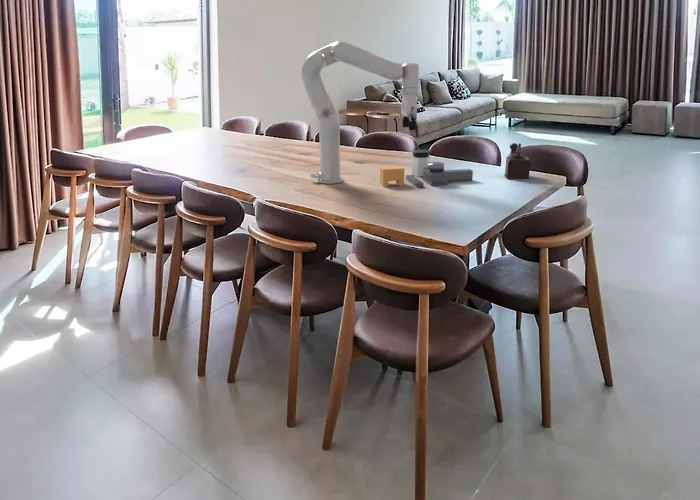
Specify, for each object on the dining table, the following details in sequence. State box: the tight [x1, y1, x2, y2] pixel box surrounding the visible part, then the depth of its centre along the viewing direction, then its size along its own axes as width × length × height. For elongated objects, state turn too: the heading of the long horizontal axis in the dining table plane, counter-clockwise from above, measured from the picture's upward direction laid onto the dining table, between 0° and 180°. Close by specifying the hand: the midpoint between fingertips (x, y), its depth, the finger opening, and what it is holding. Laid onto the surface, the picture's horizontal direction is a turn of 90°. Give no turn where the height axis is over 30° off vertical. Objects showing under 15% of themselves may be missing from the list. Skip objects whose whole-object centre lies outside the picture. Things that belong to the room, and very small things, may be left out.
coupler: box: [405, 161, 474, 189], centre depth 298 cm, size 30×18×9 cm, turn 101°
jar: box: [411, 149, 431, 178], centre depth 312 cm, size 9×8×12 cm
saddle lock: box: [379, 165, 405, 188], centre depth 294 cm, size 10×6×8 cm, turn 101°
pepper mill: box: [504, 142, 531, 180], centre depth 302 cm, size 16×11×18 cm
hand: (409, 128), depth 296 cm, fingers open, 9 cm apart
